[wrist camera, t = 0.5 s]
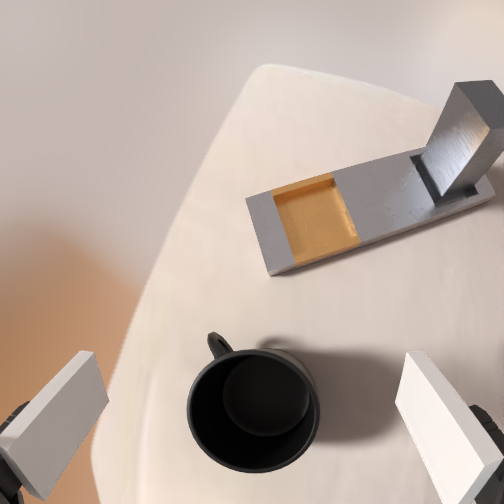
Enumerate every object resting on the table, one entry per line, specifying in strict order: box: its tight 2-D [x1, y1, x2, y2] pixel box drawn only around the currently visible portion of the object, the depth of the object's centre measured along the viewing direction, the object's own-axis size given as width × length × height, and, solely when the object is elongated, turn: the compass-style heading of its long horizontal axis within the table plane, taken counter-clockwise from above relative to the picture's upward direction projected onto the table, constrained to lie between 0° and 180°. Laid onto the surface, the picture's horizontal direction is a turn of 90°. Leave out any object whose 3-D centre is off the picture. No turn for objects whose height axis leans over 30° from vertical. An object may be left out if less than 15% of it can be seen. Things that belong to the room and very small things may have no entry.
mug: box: [187, 332, 320, 473], centre depth 24 cm, size 9×12×9 cm
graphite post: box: [415, 80, 504, 206], centre depth 24 cm, size 5×5×14 cm
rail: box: [245, 147, 496, 276], centre depth 31 cm, size 8×28×2 cm, turn 106°
